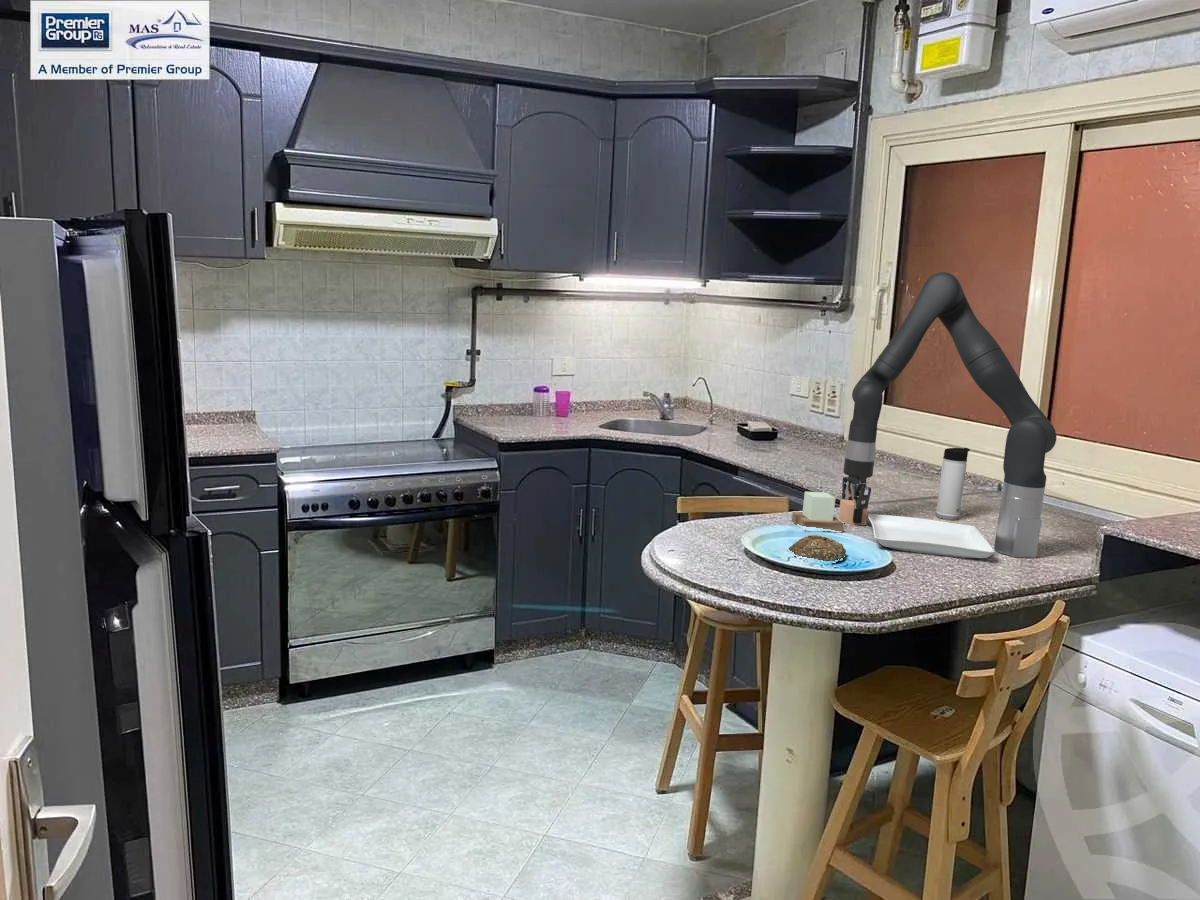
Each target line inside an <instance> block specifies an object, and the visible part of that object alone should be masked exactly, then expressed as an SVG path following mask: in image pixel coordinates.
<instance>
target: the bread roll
mask: <svg viewBox="0 0 1200 900" xmlns="http://www.w3.org/2000/svg"><path fill="white" fill-rule="evenodd" d="M788 549H789V550H790V551H792V552H794V554H795V555H799V556H802V557H807V558H814V559H818V560H823V561H835V560H838V559H839V560H840V559H841V558H844V559H845V557H846V554H845V553H847V550H846V548H845V547H844V545H843V543H840V542H839V541H837V540H835V539H832V538H831V537H828V536H822V535H818V534H813V535H809V534H808V536H805V537H802V538H800V539H798V540H797V541H796V542H795V543H793V544H792V545H790V546H789V547H788ZM844 556H845V557H844Z"/></svg>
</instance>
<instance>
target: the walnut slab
mask: <svg viewBox="0 0 1200 900" xmlns="http://www.w3.org/2000/svg"><path fill="white" fill-rule="evenodd" d="M791 513H792V515H791V522H792V523H795V524H794V525H796V524H799V525H802V526H806V527H816V528H823V529H831V530H835V531H842V532H843V528H844V523H842V522H841V521H839V520H838V518H837V517H835V516H834V515H833V521H825V520H810V519H808V518H807V517H806V516H804V515H803V514H802V513H803V511H802V512H801V511H792V512H791Z"/></svg>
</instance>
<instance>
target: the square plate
mask: <svg viewBox="0 0 1200 900" xmlns="http://www.w3.org/2000/svg"><path fill="white" fill-rule="evenodd" d="M867 519H868V520H869V521H870V523H871V527H872V531H873V537H874V538H875V539H876V540H877V542H878V543H879V544H880V545H882V546H883V547H884V548H889V549H893V550H896V551H897V550H898V551H902V552H909V551H910V553H919V554H927V555H935V556H936V555H937V556H945V557H952V558H962V559H972V558H973V559H986V558H988V557H990V556H992V555H993V554H995V553H996V551H995V550H994V547H992V545H991V544H990V543H989V541H988V540H987V539H986V537H985V536H984V535H983V534H982V533H981V531H980V530H979V529H978V528H977V527H976V526H973V525H970V524H969V525H968V524H962V523H960V524H959V523H954V522H947V521H941V520H935V519H927V518H920V517H912V516H911V517H910V516H901V515H891V514H890V515H888V514H877V513H876V514H875V513H867Z"/></svg>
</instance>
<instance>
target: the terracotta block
mask: <svg viewBox="0 0 1200 900" xmlns="http://www.w3.org/2000/svg"><path fill="white" fill-rule="evenodd" d="M857 503H858V501H857ZM868 512H869V507H868V508H867V509H864V510H863V513H862V521H861V523H854V522H853V513H854V501H853V500H844V499H840V502H839V511H838V518H837V519H840V520H841V521H842V522H844V523H845V524H850V525H849V526H859V525H866V526H867V522H868V521H867V519H868V517H867V514H869V513H868ZM844 523H843V524H844ZM845 524H844V525H845Z"/></svg>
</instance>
